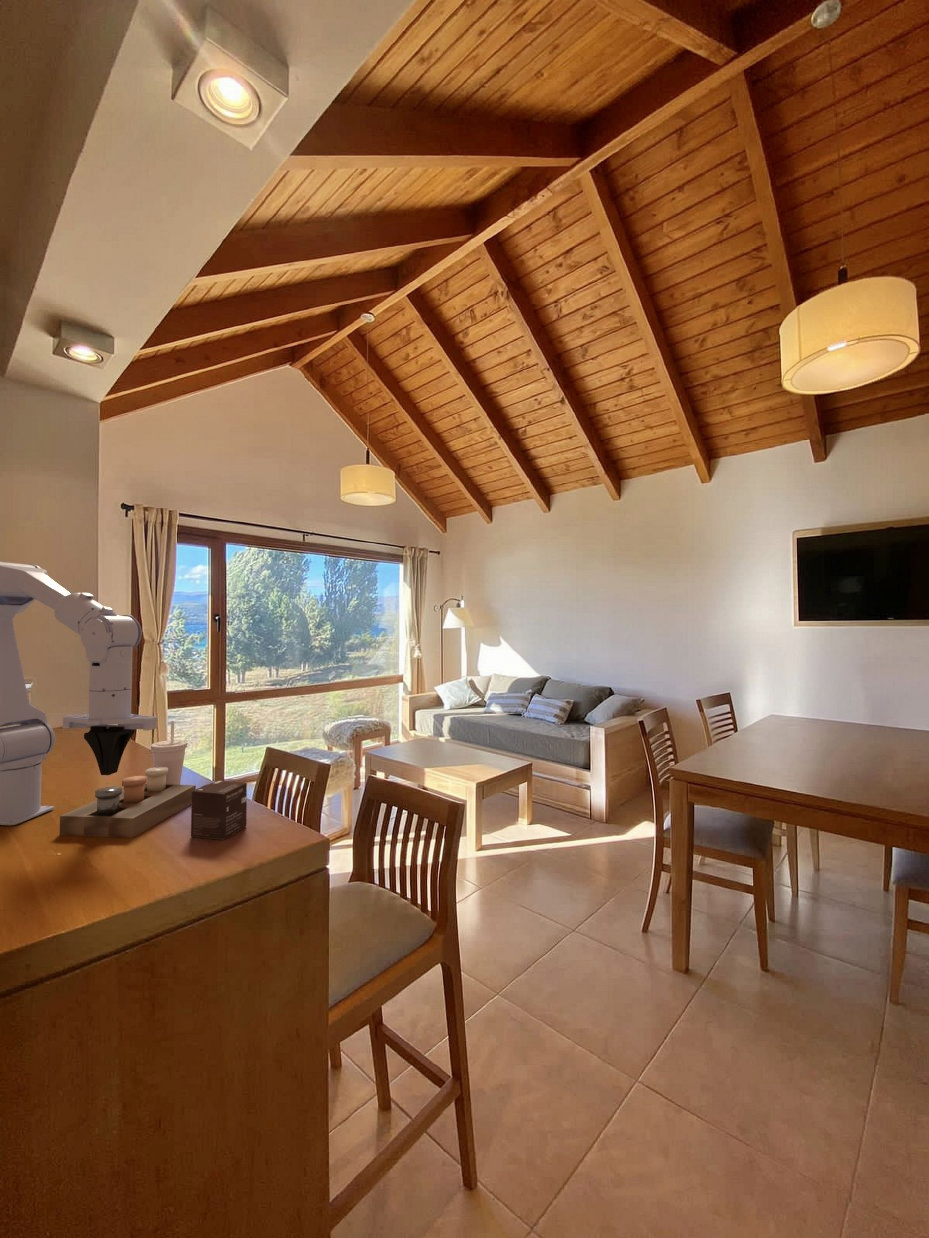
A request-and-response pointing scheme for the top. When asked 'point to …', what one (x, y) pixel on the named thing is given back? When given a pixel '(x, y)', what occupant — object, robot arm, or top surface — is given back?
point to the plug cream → (156, 779)
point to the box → (218, 809)
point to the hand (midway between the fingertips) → (109, 773)
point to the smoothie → (170, 757)
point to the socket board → (127, 814)
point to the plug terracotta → (134, 789)
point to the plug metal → (108, 800)
